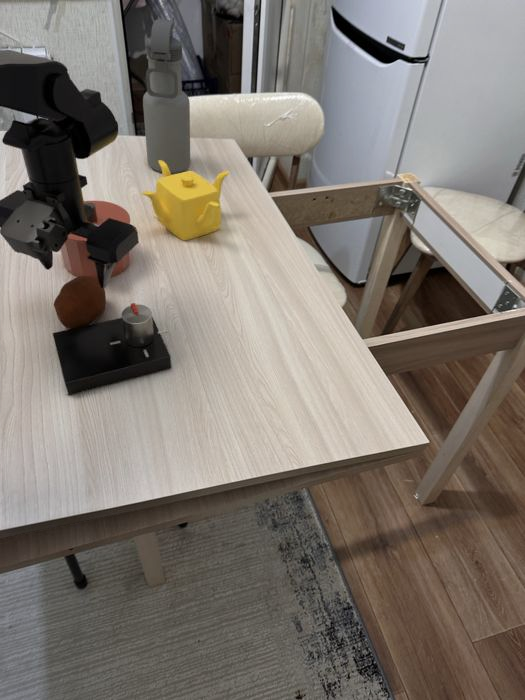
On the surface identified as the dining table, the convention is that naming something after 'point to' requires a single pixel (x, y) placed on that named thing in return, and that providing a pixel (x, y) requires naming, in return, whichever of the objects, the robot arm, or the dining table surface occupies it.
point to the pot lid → (102, 216)
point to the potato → (80, 302)
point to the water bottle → (166, 101)
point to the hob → (106, 356)
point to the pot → (87, 260)
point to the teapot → (187, 203)
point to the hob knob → (137, 325)
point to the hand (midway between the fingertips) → (76, 277)
